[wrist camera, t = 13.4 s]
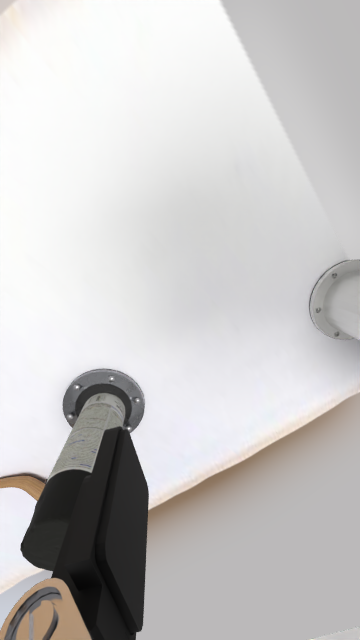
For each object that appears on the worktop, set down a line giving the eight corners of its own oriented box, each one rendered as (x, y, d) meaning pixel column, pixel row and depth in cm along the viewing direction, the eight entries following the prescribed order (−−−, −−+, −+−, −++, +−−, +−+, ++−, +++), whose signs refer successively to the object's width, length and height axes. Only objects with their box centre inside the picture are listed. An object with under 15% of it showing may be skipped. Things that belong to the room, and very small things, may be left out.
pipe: (-9, 470, 45) (-33, 503, 39) (103, 471, 47) (95, 503, 41) (-4, 502, 47) (-27, 538, 41) (102, 502, 49) (95, 536, 43)
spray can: (77, 416, 42) (5, 563, 22) (95, 383, 40) (35, 509, 21) (114, 432, 43) (76, 583, 24) (133, 400, 41) (109, 534, 22)
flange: (132, 360, 41) (131, 364, 40) (153, 426, 45) (152, 432, 43) (53, 379, 41) (49, 384, 39) (80, 444, 45) (77, 450, 43)
